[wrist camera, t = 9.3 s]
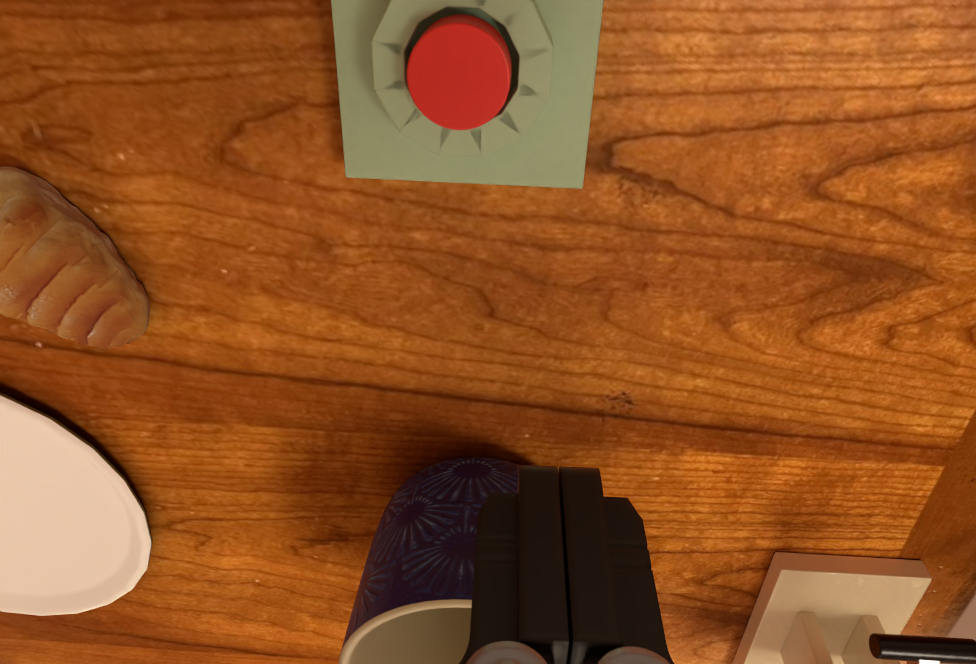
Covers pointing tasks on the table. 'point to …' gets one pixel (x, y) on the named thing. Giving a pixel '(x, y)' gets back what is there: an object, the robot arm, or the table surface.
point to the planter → (424, 566)
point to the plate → (63, 519)
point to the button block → (498, 143)
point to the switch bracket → (829, 608)
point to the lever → (922, 649)
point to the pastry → (63, 268)
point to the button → (459, 72)
